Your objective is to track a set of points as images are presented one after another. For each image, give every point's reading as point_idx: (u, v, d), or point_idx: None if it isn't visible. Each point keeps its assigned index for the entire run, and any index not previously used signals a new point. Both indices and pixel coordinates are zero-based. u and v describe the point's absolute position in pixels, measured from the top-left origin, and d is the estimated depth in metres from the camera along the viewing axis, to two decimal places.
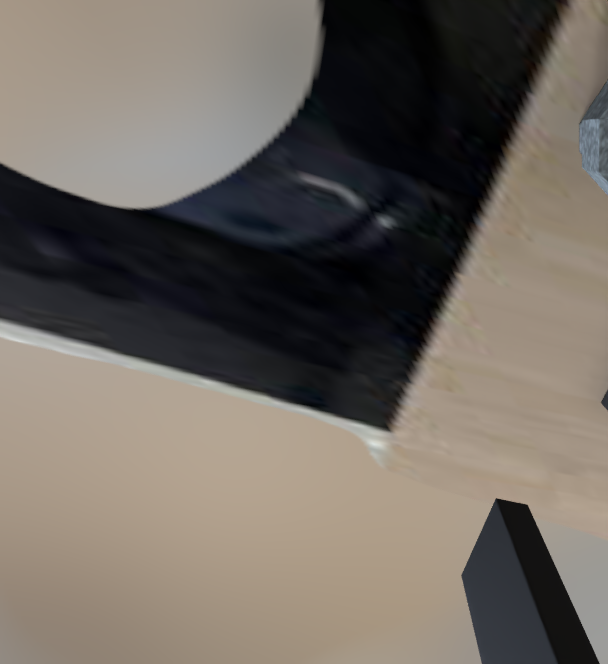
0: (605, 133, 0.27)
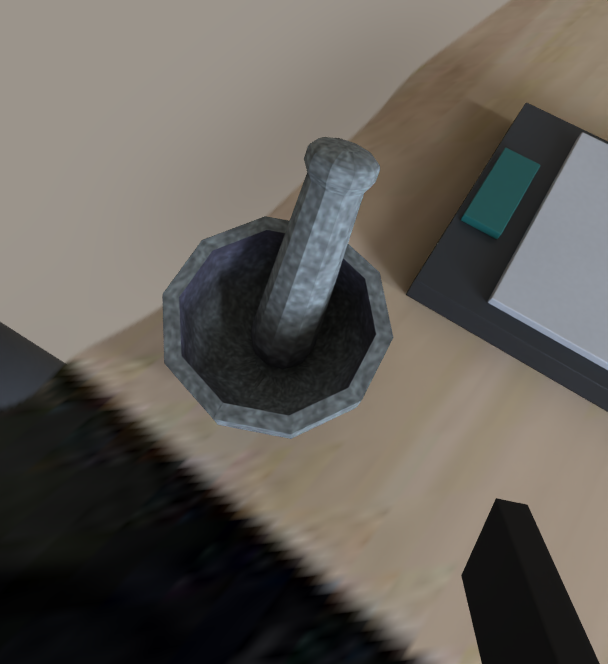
0: (237, 414, 0.18)
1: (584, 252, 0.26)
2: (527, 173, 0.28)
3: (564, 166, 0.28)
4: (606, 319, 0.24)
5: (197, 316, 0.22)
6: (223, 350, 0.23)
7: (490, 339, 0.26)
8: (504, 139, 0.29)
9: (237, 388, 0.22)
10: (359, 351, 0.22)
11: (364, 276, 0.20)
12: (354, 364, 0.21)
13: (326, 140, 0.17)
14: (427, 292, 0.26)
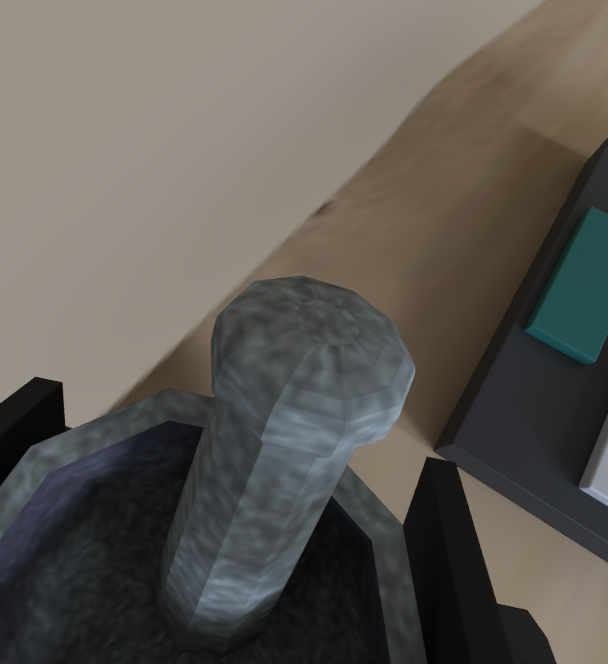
0: None
1: None
2: None
3: None
4: None
5: (42, 570, 0.11)
6: (106, 606, 0.12)
7: (577, 539, 0.15)
8: (585, 190, 0.19)
9: None
10: (358, 643, 0.11)
11: (370, 535, 0.09)
12: None
13: (267, 302, 0.06)
14: (471, 462, 0.15)
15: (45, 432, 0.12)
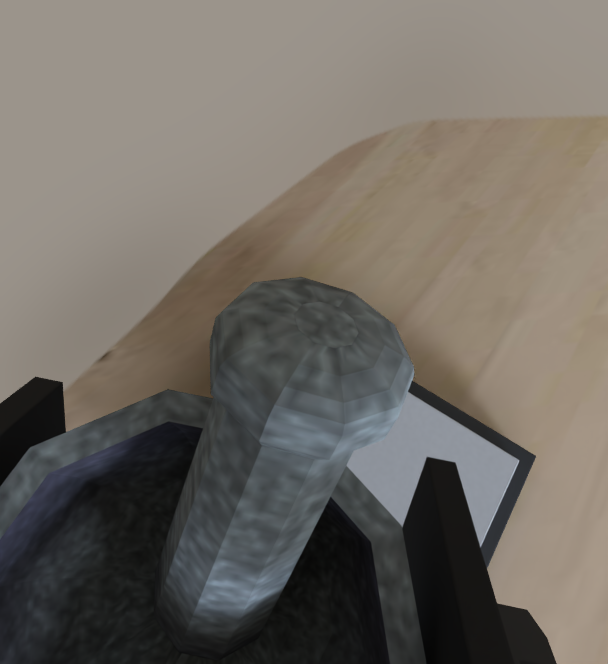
0: None
1: None
2: None
3: None
4: None
5: (41, 571, 0.11)
6: (106, 607, 0.12)
7: None
8: None
9: None
10: (358, 645, 0.11)
11: (369, 536, 0.09)
12: None
13: (266, 303, 0.06)
14: None
15: (45, 432, 0.12)
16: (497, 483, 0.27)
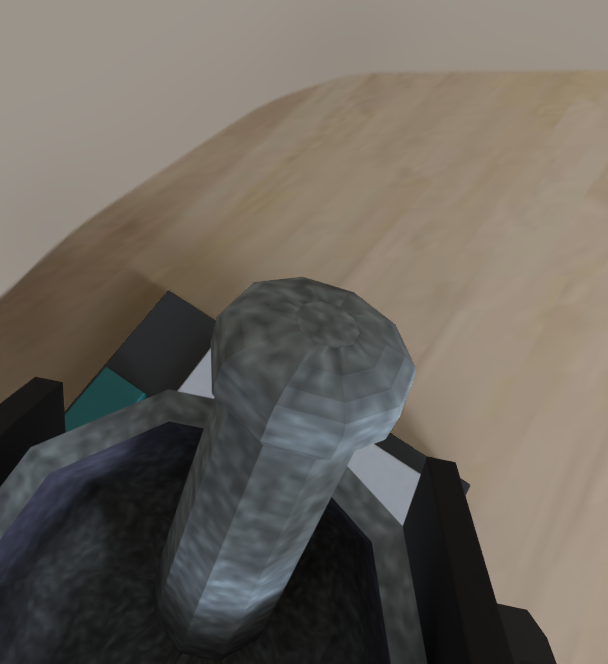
0: None
1: None
2: (122, 407, 0.21)
3: None
4: None
5: (42, 571, 0.11)
6: (106, 607, 0.12)
7: None
8: (121, 347, 0.23)
9: None
10: (358, 645, 0.11)
11: (370, 536, 0.09)
12: None
13: (267, 303, 0.06)
14: None
15: (45, 432, 0.12)
16: None
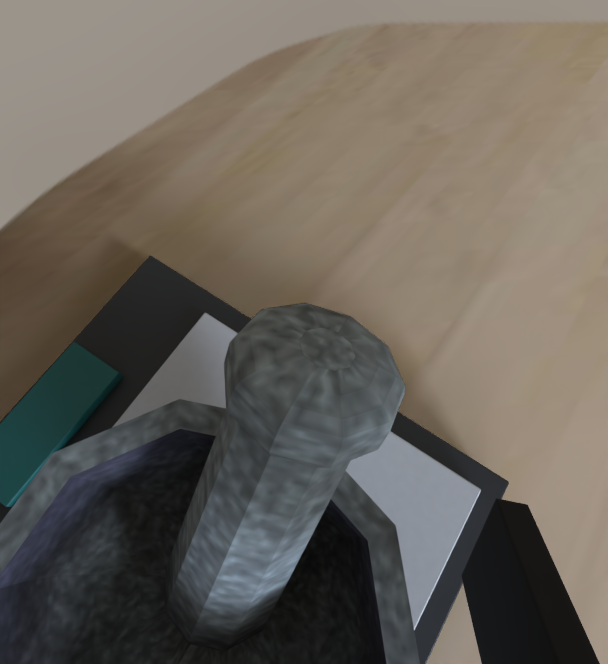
0: None
1: None
2: (91, 389, 0.18)
3: (155, 375, 0.18)
4: None
5: (60, 567, 0.12)
6: (119, 601, 0.13)
7: None
8: (93, 320, 0.20)
9: None
10: (355, 636, 0.12)
11: (366, 535, 0.10)
12: None
13: (274, 330, 0.07)
14: None
15: None
16: (444, 526, 0.17)
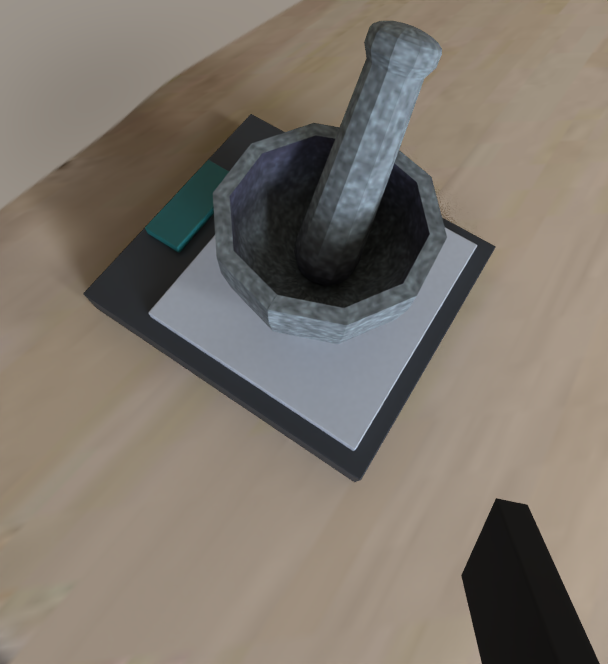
0: (292, 306, 0.17)
1: None
2: None
3: None
4: (260, 334, 0.24)
5: (242, 227, 0.21)
6: (266, 267, 0.23)
7: (165, 353, 0.26)
8: (217, 151, 0.29)
9: None
10: (406, 263, 0.21)
11: (416, 180, 0.20)
12: (402, 275, 0.21)
13: None
14: (99, 306, 0.26)
15: None
16: (453, 263, 0.26)
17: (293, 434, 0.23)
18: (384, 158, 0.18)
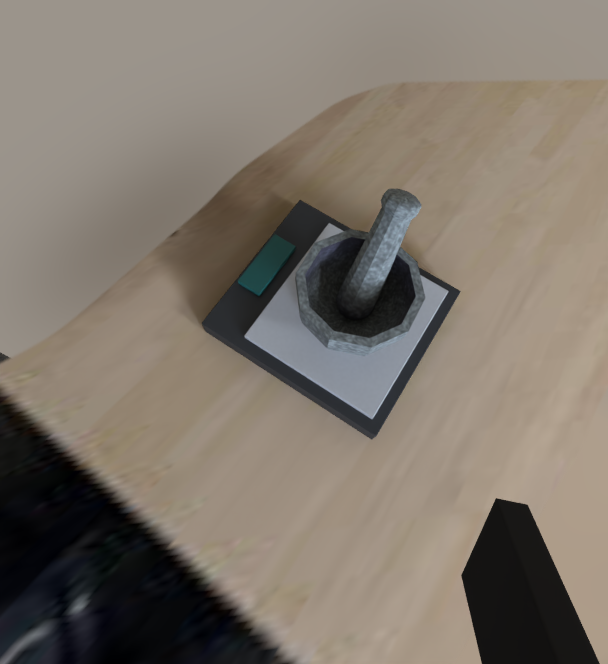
0: (342, 337, 0.33)
1: None
2: (285, 252, 0.43)
3: (311, 247, 0.43)
4: (314, 349, 0.39)
5: (307, 287, 0.37)
6: (319, 309, 0.38)
7: (252, 360, 0.41)
8: (279, 227, 0.44)
9: None
10: (403, 309, 0.37)
11: (408, 264, 0.35)
12: (400, 316, 0.36)
13: (393, 191, 0.32)
14: (210, 330, 0.41)
15: None
16: (433, 303, 0.41)
17: (335, 409, 0.38)
18: (391, 255, 0.34)
